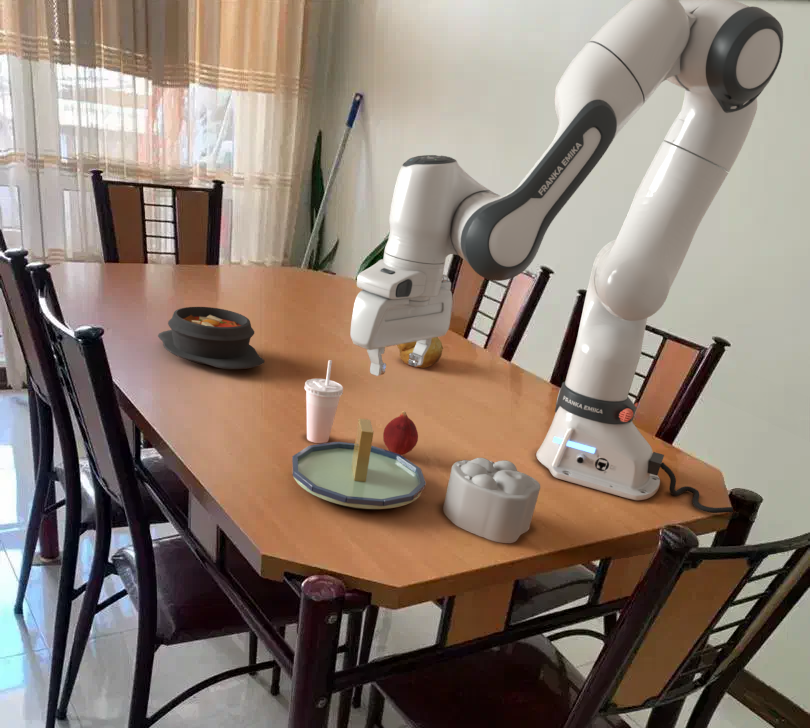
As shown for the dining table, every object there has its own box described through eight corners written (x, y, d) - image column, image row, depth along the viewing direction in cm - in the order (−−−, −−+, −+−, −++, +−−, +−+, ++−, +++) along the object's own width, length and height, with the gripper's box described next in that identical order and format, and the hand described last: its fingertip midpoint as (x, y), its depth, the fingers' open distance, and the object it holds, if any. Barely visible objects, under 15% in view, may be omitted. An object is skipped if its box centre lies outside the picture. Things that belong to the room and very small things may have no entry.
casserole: (284, 371, 165) (288, 331, 161) (210, 383, 152) (212, 339, 148) (210, 335, 178) (212, 297, 174) (135, 343, 165) (135, 301, 161)
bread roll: (414, 351, 194) (420, 318, 190) (450, 363, 190) (456, 329, 186) (389, 361, 183) (394, 326, 179) (426, 373, 180) (433, 338, 176)
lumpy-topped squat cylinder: (507, 548, 114) (522, 493, 110) (429, 515, 119) (440, 462, 115) (535, 524, 122) (549, 472, 118) (460, 494, 127) (471, 444, 123)
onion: (420, 459, 137) (429, 415, 133) (398, 466, 133) (406, 421, 129) (396, 446, 140) (403, 403, 136) (373, 452, 136) (380, 408, 132)
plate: (432, 514, 116) (443, 460, 111) (292, 502, 112) (299, 445, 107) (412, 457, 133) (421, 407, 129) (290, 444, 129) (296, 394, 125)
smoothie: (321, 449, 133) (331, 368, 127) (291, 437, 136) (299, 357, 129) (343, 440, 138) (354, 361, 132) (313, 428, 141) (323, 350, 134)
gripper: (435, 268, 125) (420, 354, 132) (349, 275, 110) (337, 372, 117) (468, 278, 122) (451, 366, 129) (384, 287, 107) (370, 386, 114)
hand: (396, 369), depth 123 cm, fingers open, 8 cm apart
